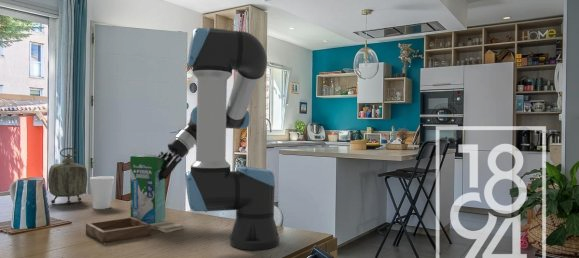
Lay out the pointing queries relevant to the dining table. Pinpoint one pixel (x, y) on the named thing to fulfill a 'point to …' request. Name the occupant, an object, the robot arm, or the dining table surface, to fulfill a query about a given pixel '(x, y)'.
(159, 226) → the beech board
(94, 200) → the foam cup
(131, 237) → the tray
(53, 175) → the tabletop clock
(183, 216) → the dining table surface
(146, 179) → the milk carton
